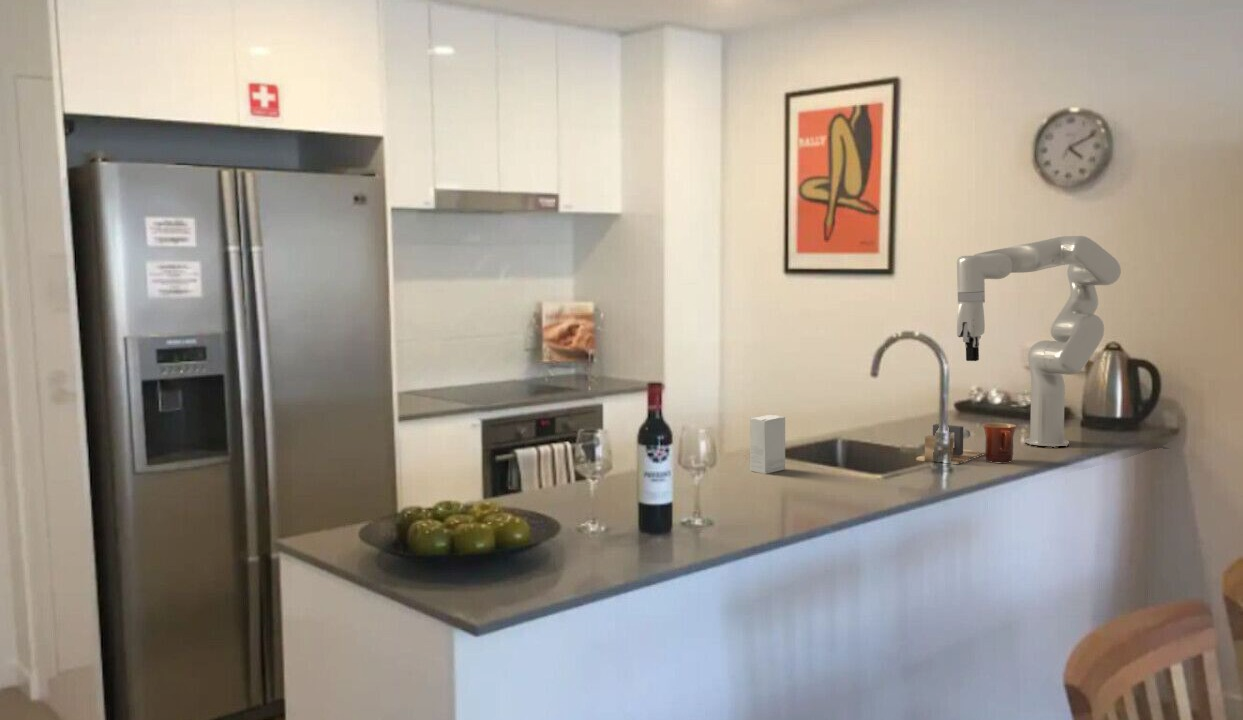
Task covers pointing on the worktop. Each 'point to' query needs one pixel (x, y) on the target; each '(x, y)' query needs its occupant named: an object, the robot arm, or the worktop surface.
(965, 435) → the pipe
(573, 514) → the worktop surface
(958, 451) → the gray square frame
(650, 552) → the worktop surface
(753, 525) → the worktop surface
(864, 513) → the worktop surface
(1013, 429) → the mug
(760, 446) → the skincare box
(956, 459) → the board block
